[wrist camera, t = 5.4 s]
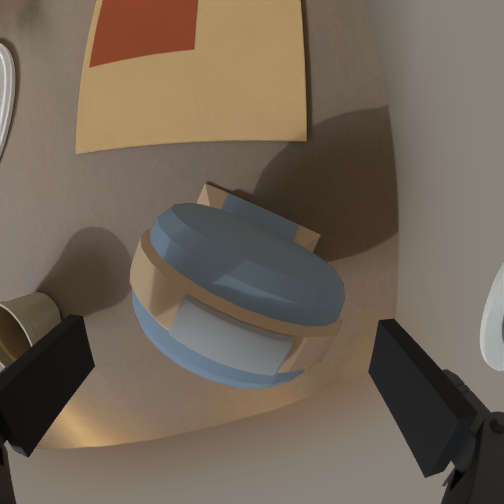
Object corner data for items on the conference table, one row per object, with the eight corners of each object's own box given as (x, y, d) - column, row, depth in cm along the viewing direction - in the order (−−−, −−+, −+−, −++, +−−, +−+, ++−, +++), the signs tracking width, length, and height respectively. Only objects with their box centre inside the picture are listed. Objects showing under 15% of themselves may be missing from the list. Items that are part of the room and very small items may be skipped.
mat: (297, -27, 23) (298, -31, 22) (305, 142, 27) (307, 141, 27) (100, -6, 23) (98, -9, 22) (78, 154, 28) (75, 153, 27)
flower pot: (22, 267, 31) (-21, 287, 22) (76, 296, 31) (35, 327, 23) (20, 326, 32) (-16, 352, 24) (70, 356, 33) (37, 391, 25)
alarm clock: (161, 268, 30) (71, 358, 13) (195, 179, 28) (115, 175, 11) (286, 321, 32) (314, 449, 14) (329, 238, 30) (416, 308, 12)
